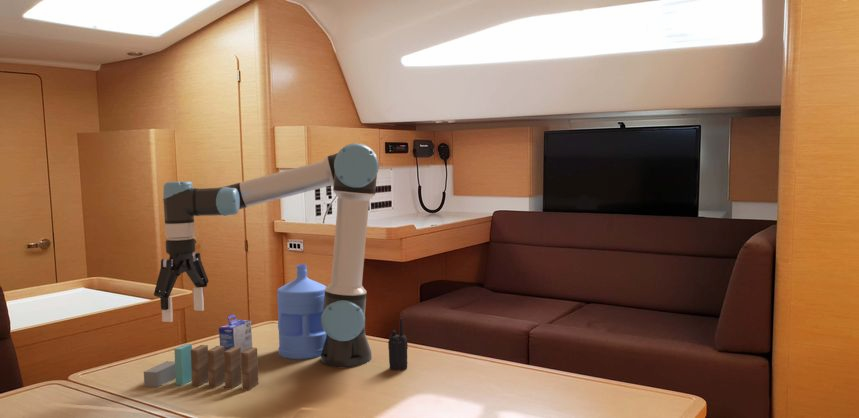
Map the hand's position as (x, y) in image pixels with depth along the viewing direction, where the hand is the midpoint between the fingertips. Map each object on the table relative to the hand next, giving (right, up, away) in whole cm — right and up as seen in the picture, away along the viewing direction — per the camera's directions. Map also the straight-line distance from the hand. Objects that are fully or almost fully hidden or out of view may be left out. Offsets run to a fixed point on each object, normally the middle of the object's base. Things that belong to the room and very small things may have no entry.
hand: (183, 315), depth 180 cm
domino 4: (+19, -19, -4) cm, 27 cm away
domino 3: (+14, -19, -2) cm, 23 cm away
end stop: (-7, -19, +3) cm, 20 cm away
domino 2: (+9, -19, -1) cm, 21 cm away
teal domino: (0, -19, +1) cm, 19 cm away
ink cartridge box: (+9, -18, +18) cm, 27 cm away
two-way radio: (+58, -17, +8) cm, 61 cm away
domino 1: (+5, -19, 0) cm, 19 cm away
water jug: (+28, -17, +27) cm, 42 cm away
